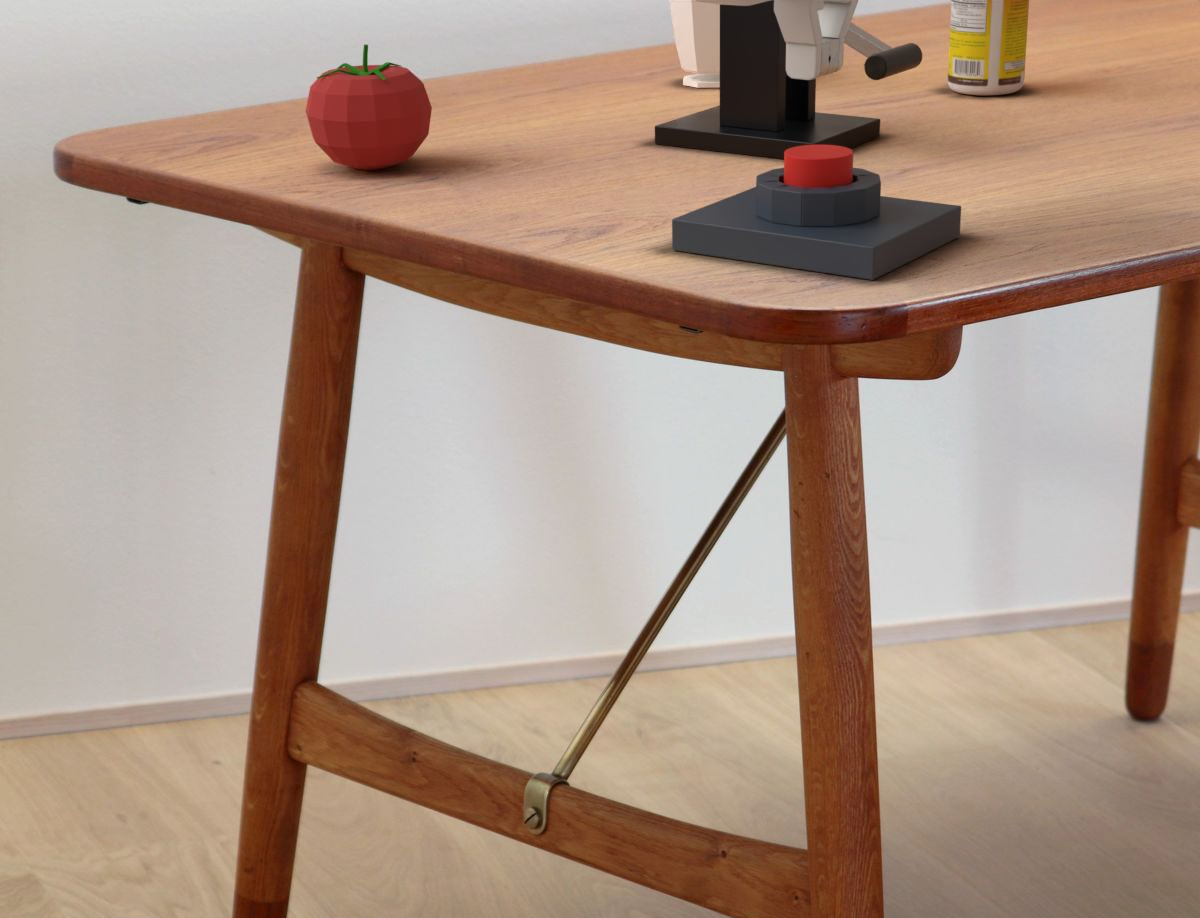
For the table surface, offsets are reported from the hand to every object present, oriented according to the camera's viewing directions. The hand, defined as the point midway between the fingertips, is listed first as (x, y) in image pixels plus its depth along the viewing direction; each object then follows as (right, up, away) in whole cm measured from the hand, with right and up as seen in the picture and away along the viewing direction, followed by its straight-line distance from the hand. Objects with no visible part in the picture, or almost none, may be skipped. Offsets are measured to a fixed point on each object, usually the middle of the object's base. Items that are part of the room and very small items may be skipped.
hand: (814, 75), depth 99 cm
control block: (0, -8, +4) cm, 9 cm away
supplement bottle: (+17, +10, +43) cm, 47 cm away
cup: (-2, +13, +50) cm, 51 cm away
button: (0, -5, +2) cm, 6 cm away
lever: (+3, +9, +23) cm, 25 cm away
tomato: (-26, 0, +24) cm, 35 cm away
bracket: (0, +3, +28) cm, 28 cm away
